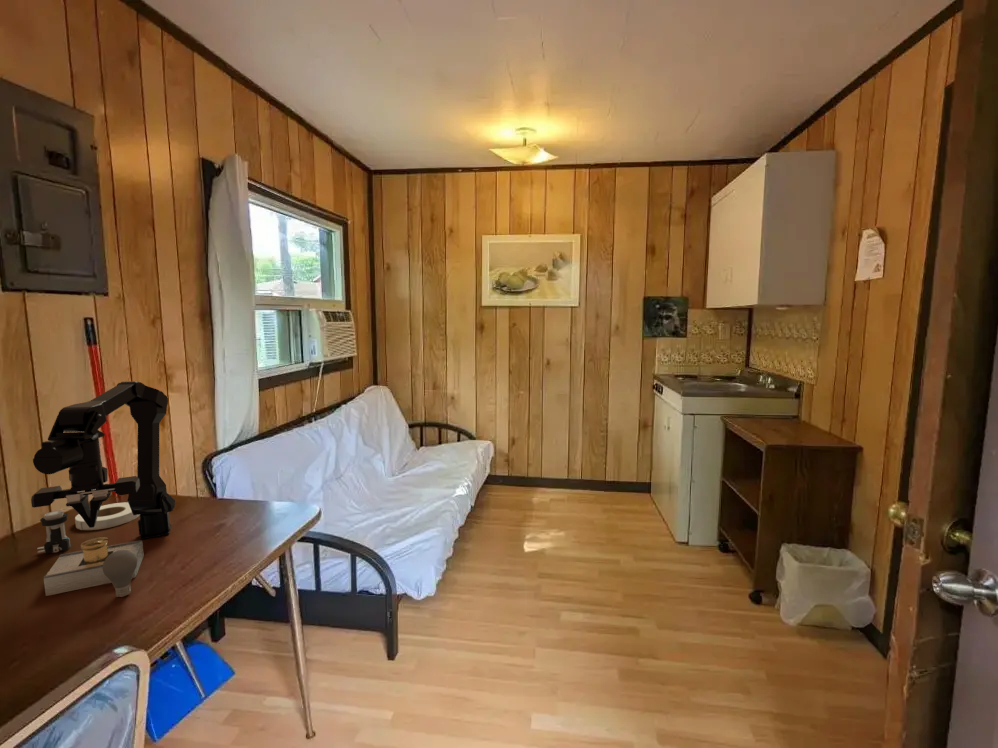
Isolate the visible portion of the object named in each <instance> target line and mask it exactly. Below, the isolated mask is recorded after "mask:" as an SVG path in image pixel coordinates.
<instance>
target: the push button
mask: <svg viewBox="0 0 998 748" xmlns="http://www.w3.org/2000/svg"><path fill="white" fill-rule="evenodd" d="M68 516H69V514H68V513H67V512H64V511H63V510H54V511H49V512H47V513H45V514H44V516H43V517H42V518H40V519H39V521H40V523H41V526H42V527H45V531H46V539H45V540H46V541H45V543H44V544H43V546H39V547H37V549H36V550H38V551H37V552H36V553H38V554H39V553H45V554H51V553H58V552H62V551H63V552H64V551H65V552H66V551H68V550H69V549H70V548H71V541H70V537H68V536H67V535H66V527H65V526H66V525H65V522H67V521H68ZM40 549H41V550H40ZM42 549H43V550H42Z"/></svg>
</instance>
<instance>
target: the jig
mask: <svg viewBox="0 0 998 748" xmlns="http://www.w3.org/2000/svg"><path fill="white" fill-rule="evenodd" d="M143 546H144V545H143V539H139V540H132V541H127V542H123V543H122V542H121V543H116V544H109V545H107V549H108V556H109V555H110V554H111V553H113V552H115V551H118V550H128V551H131V552H132V553H134V554H135V556H136V557H137V566H136V568H135V571H134V572H133V574H132V578H131V579H135V578H137V574H138V573H139V569H140V568H141V564H142V561H143V559H144V556H145V555H144V547H143ZM103 563H104V562H98V563H93V564H88V565H85V563H84V555H83V550H82V549H81V550H77V551H72V552H64V553H60V554H59V557H58V558H57V560H56V561H55V563H53V565H52V566H51V568H50V569H49V571H47V573H46V574H45V575H44V576H43V583H44V592H45V597H47V596H52V595H57V594H62V593H66V592H67V593H68V592H72V591H76V590H81V589H82V590H83V589H85V588H91V587H97V586H101V585H107V584H111V583H112V581H111V580H110V579H109V578H107V576H105V574H104V572H103V569H102V567H103Z"/></svg>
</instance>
